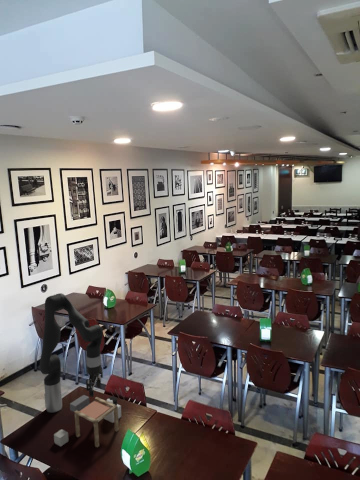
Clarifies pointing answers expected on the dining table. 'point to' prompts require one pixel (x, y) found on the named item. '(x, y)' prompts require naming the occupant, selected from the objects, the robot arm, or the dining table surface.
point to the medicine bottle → (111, 416)
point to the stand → (95, 421)
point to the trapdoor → (88, 407)
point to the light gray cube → (61, 437)
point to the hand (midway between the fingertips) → (95, 391)
